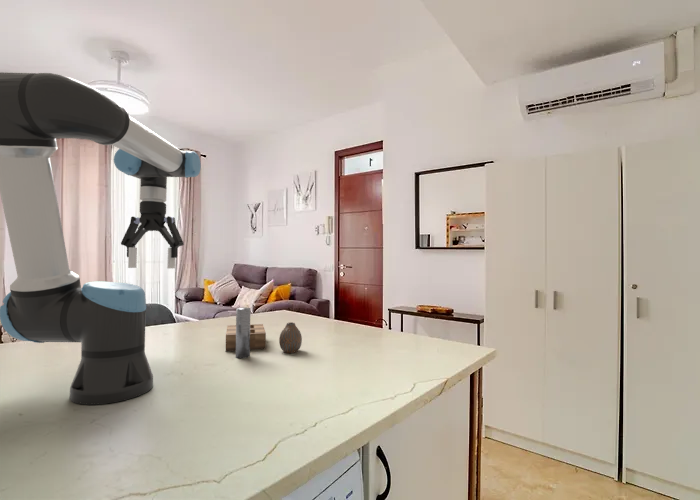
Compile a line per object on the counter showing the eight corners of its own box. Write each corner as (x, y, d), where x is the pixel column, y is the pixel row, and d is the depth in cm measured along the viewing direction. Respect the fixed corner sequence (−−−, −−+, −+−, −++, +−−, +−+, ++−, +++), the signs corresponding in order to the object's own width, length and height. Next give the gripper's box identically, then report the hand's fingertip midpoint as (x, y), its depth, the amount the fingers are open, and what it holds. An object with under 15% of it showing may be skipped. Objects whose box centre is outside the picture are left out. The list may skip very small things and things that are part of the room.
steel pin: (249, 357, 108) (250, 309, 109) (235, 358, 107) (236, 309, 108) (249, 354, 112) (250, 307, 112) (235, 355, 111) (236, 307, 111)
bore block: (265, 349, 119) (265, 333, 119) (225, 351, 115) (225, 335, 115) (262, 338, 134) (262, 324, 134) (227, 339, 130) (227, 325, 131)
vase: (299, 354, 113) (300, 325, 113) (276, 354, 113) (277, 325, 113) (303, 348, 120) (303, 321, 120) (281, 348, 120) (281, 320, 120)
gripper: (195, 203, 122) (194, 268, 122) (126, 204, 126) (125, 267, 125) (182, 199, 115) (180, 268, 114) (109, 200, 119) (107, 267, 118)
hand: (151, 268), depth 120 cm, fingers open, 13 cm apart
